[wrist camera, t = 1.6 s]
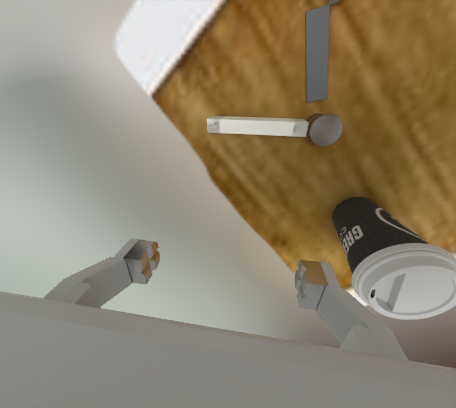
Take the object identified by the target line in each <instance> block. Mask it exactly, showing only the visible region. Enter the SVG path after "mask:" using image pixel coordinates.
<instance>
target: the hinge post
mask: <svg viewBox="0 0 456 408" xmlns="http://www.w3.org/2000/svg"><path fill="white" fill-rule="evenodd" d="M307 122H309V124H308V129H307V133H308V134H309V135H310V138H311V140H312V141H313V142H314V143H315V144H317V145H319V146H328V145H330V144H332V143H334V142H335V141H336V140H337V139H338V138H339V137H340V135H341V133H342V122H341V120H340V119H339V118H338V117H337V116H335V115H331V114H327V115H322V114H314V115H312V116H310V117H309V118H308V119H307Z"/></svg>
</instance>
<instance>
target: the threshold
mask: <svg viewBox="0 0 456 408" xmlns="http://www.w3.org/2000/svg"><path fill="white" fill-rule="evenodd" d="M329 20H330V5H326V6H323V7H319V8H316V9H313V10H309V11H306V103H307V102H313V101H318V100H323V99H327V79H328V50H329Z"/></svg>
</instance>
